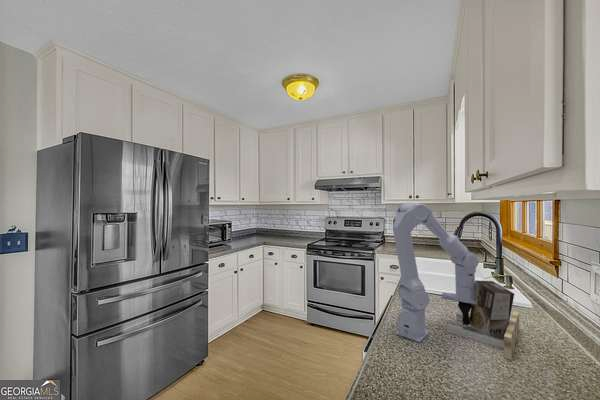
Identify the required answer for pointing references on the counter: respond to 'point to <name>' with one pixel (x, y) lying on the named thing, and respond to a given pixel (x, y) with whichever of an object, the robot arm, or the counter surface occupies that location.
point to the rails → (474, 334)
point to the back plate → (511, 335)
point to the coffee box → (491, 308)
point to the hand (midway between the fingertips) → (466, 324)
